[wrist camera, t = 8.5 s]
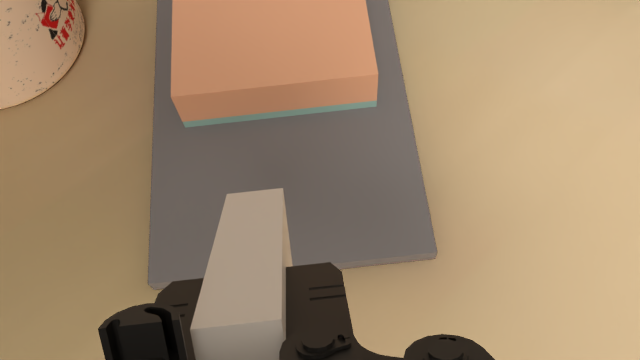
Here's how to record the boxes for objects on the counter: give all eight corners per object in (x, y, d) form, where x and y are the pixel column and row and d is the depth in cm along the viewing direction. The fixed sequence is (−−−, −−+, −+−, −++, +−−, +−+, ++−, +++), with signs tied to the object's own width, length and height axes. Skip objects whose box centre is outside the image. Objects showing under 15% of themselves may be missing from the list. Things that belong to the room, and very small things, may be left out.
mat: (435, 258, 26) (437, 252, 25) (153, 289, 26) (147, 284, 25) (371, -72, 35) (371, -84, 34) (163, -49, 35) (159, -60, 34)
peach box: (378, 74, 26) (346, -113, 31) (170, 97, 26) (174, -93, 31) (376, 106, 28) (346, -73, 34) (185, 127, 28) (186, -55, 34)
